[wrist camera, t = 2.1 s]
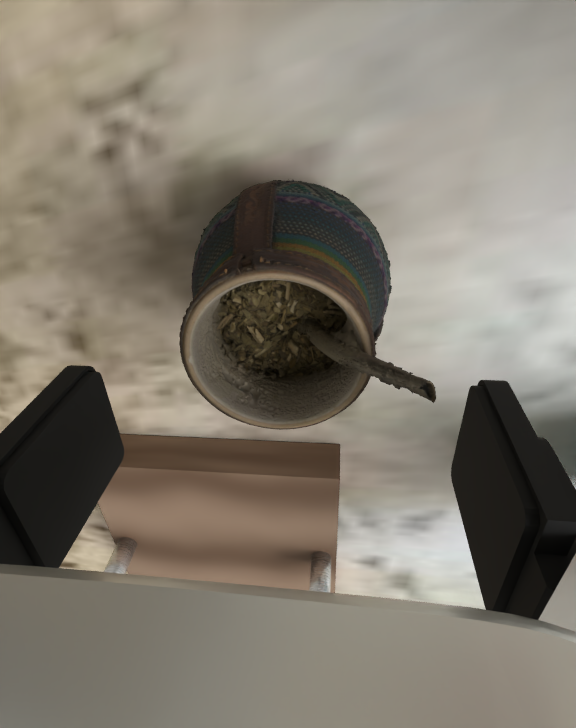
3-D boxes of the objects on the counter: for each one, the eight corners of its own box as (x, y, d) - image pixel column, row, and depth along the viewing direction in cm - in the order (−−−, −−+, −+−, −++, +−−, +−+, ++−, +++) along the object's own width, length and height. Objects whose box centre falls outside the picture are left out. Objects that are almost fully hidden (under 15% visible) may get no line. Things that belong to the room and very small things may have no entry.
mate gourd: (183, 200, 18) (50, 317, 10) (365, 129, 16) (391, 202, 8) (252, 345, 22) (197, 518, 13) (408, 302, 20) (456, 476, 11)
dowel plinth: (102, 433, 26) (52, 510, 22) (340, 444, 25) (339, 530, 20) (151, 567, 34) (122, 644, 30) (334, 581, 33) (332, 665, 28)
